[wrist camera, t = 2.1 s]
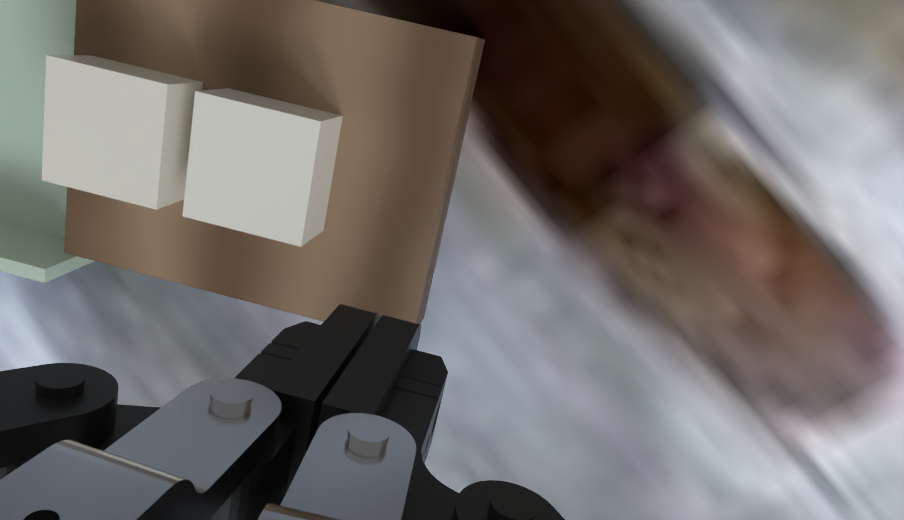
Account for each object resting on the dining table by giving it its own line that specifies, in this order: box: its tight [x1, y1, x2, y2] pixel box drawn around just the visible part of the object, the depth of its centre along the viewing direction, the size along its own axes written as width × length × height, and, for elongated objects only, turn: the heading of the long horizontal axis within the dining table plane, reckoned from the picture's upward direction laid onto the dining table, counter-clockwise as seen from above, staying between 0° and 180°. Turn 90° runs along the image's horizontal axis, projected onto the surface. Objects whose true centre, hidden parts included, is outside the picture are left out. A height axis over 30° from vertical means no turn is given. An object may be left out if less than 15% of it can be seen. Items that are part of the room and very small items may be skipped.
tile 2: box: [42, 55, 203, 210], centre depth 26 cm, size 4×4×2 cm
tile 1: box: [183, 88, 343, 247], centre depth 25 cm, size 4×4×2 cm
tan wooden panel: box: [64, 0, 485, 324], centre depth 28 cm, size 15×12×3 cm
